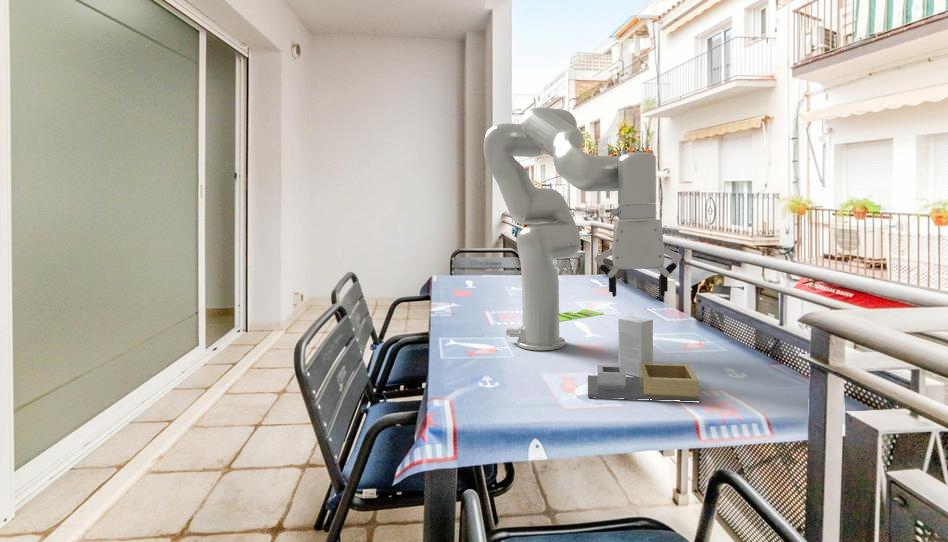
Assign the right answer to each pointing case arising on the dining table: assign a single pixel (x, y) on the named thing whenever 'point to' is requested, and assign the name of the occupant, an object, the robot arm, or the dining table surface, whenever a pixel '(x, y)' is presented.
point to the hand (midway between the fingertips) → (637, 295)
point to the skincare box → (635, 343)
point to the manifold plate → (645, 383)
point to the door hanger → (577, 315)
